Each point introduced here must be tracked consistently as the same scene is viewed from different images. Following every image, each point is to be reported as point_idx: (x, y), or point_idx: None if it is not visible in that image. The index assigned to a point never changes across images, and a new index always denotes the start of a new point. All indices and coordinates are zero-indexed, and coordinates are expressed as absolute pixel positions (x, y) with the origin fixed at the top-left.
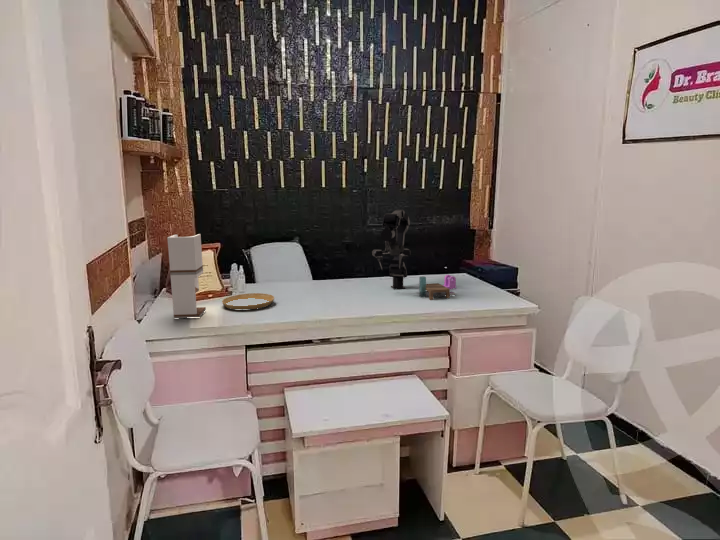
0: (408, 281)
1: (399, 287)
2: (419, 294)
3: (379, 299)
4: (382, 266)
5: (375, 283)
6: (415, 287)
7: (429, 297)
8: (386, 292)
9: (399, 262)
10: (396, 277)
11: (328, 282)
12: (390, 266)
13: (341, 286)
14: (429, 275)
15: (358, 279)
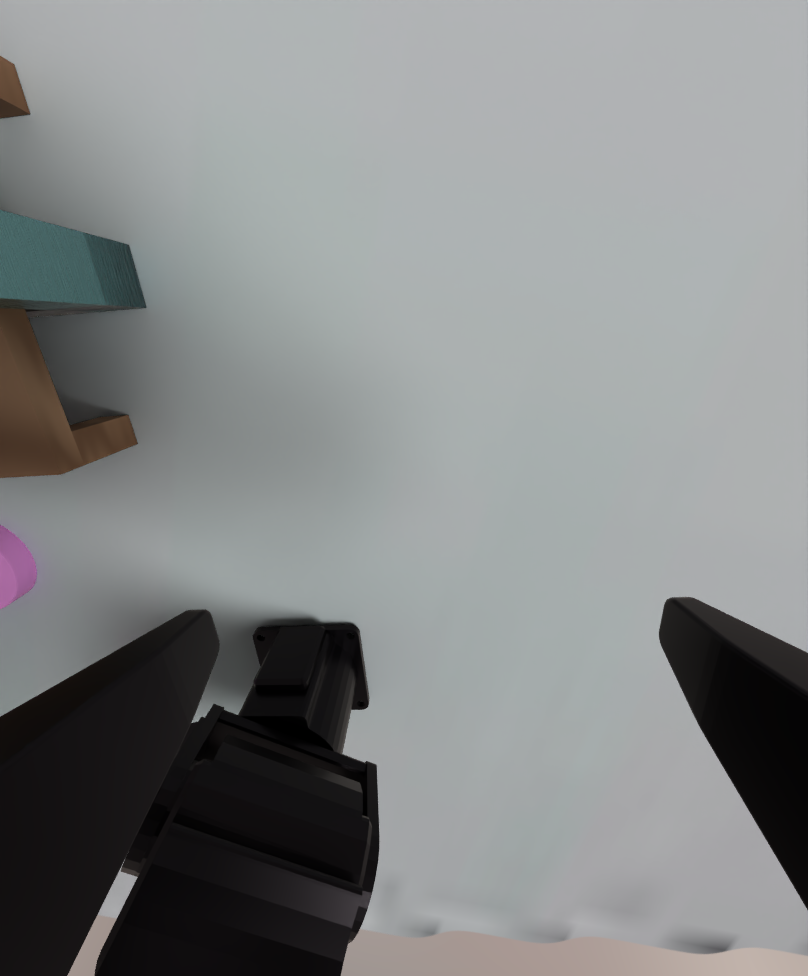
0: None
1: (306, 628)
2: (130, 299)
3: (628, 228)
4: (775, 656)
5: (458, 812)
6: None
7: (4, 92)
8: (452, 537)
9: (109, 834)
10: (305, 732)
11: (781, 897)
12: (355, 899)
13: None
14: None
15: (540, 915)
